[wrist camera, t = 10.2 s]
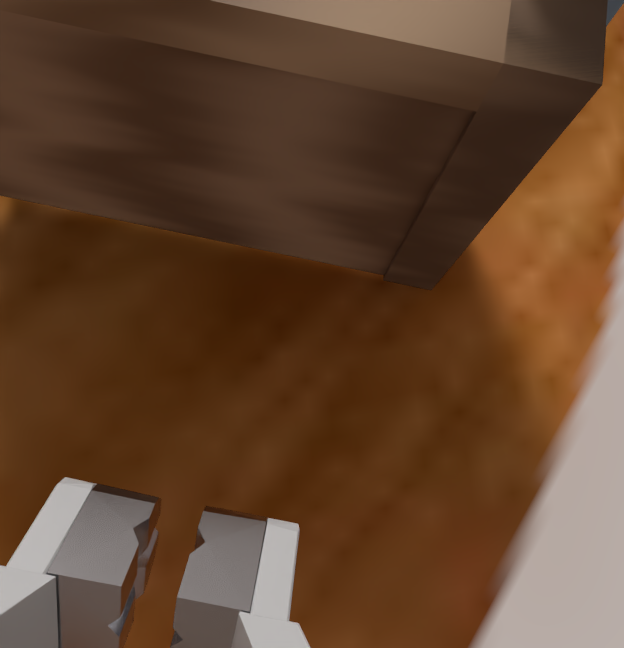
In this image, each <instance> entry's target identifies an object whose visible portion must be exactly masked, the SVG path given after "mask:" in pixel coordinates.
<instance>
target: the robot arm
mask: <svg viewBox="0 0 624 648" xmlns="http://www.w3.org/2000/svg"><path fill="white" fill-rule="evenodd" d="M160 511H161V498H159V497H154V496H150V495H145V494H141V493H137V492H132V491H128V490H123V489H119V488H115V487H110V486H106V485H101V484H96V483H91V482H86V481H82V480H77V479H72V478H68V477H65V478H63V479H62V480H61V481H60V482H59V483H58V484H57V485H56V486H55V488H54V490H53V491H52V493H51V494H50V496H49V498H48V499H47V501H46V502H45V504H44V506H43V507H42V509H41V510H40V512H39V514H38V515H37V517H36V519H35V520H34V522H33V523H32V525H31V527H30V528H29V530H28V531H27V533H26V535H25V536H24V538H23V539H22V541H21V543H20V544H19V546H18V548H17V549H16V551H15V552H14V554H13V556H12V557H11V559H10V560H9V562H8V564H7V565H6V566H1V565H0V648H124V645H125V642H126V640H127V637H128V634H129V632H130V629H131V626H132V623H133V621H134V609H135V599H137V598H138V597H139V596H141V595H142V594H143V593H144V590H145V587H146V585H147V582H148V579H149V576H150V572H151V569H152V565H153V562H154V558H155V553H156V548H157V542H158V531H157V530H156V529H155V526H156V524H157V521H158V518H159V516H160ZM299 531H300V529H299V525H298V524H297V523H292V522H287V521H282V520H277V519H272V518H268V519H267V517H264V516H259V515H253V514H248V513H242V512H237V511H232V510H226V509H221V508H215V507H210V506H206V507H205V509H204V511H203V514H202V517H201V520H200V523H199V526H198V531H197V538H196V544H195V550H194V551H193V552H192V553H191V554H190V555H189V559H188V562H187V565H186V569H185V572H184V576H183V579H182V582H181V586H180V589H179V592H178V596H177V601H176V608H175V615H174V622H173V628H174V629H175V632H174V636H173V639H172V643H171V646H170V648H311V647H310V645H309V643H308V641H307V639H306V637H305V635H304V633H303V631H302V629H301V627H300V625H299V623H296V622H292V621H289V617H290V609H291V600H292V591H293V583H294V574H295V565H296V557H297V548H298V539H299Z"/></svg>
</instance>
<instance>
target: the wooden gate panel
mask: <svg viewBox="0 0 624 648" xmlns="http://www.w3.org/2000/svg"><path fill="white" fill-rule="evenodd" d="M607 4H608V0H0V196H5V197H10V198H15V199H20V200H25V201H29V202H34V203H39V204H44V205H49V206H53V207H58V208H63V209H68V210H73V211H77V212H82V213H87V214H92V215H97V216H102V217H106V218H111V219H116V220H121V221H126V222H130V223H135V224H140V225H145V226H150V227H154V228H159V229H164V230H169V231H174V232H179V233H183V234H188V235H193V236H198V237H203V238H207V239H212V240H217V241H222V242H227V243H231V244H236V245H241V246H246V247H251V248H256V249H260V250H265V251H270V252H275V253H280V254H284V255H289V256H294V257H299V258H304V259H308V260H313V261H318V262H323V263H328V264H332V265H337V266H342V267H347V268H352V269H357V270H361V271H366V272H371V273H376V274H381V275H384V278H383V280H384V281H389V282H394V283H399V284H404V285H408V286H413V287H418V288H423V289H428V290H432V289H433V288H434V286H435V285H436V284H437V283H438V282H439V280H440V279H441V278H442V277H443V276H444V274H445V273H446V272H447V271H448V270H449V268H450V267H451V266H452V265H453V264H454V262H455V261H456V260H457V259H458V258H459V256H460V255H461V254H462V253H463V252H464V250H465V249H466V248H467V247H468V246H469V244H470V243H471V242H472V241H473V239H474V238H475V237H476V236H477V235H478V233H479V232H480V231H481V230H482V229H483V227H484V226H485V225H486V224H487V223H488V221H489V220H490V219H491V218H492V217H493V215H494V214H495V213H496V212H497V211H498V209H499V208H500V207H501V206H502V205H503V203H504V202H505V201H506V200H507V199H508V197H509V196H510V195H511V194H512V193H513V191H514V190H515V189H516V188H517V187H518V185H519V184H520V183H521V182H522V180H523V179H524V178H525V177H526V176H527V174H528V173H529V172H530V171H531V170H532V168H533V167H534V166H535V165H536V164H537V162H538V161H539V160H540V159H541V158H542V156H543V155H544V154H545V153H546V152H547V150H548V149H549V148H550V147H551V146H552V144H553V143H554V142H555V141H556V140H557V138H558V137H559V136H560V135H561V134H562V132H563V131H564V130H565V129H566V127H567V126H568V125H569V124H570V123H571V121H572V120H573V119H574V118H575V117H576V115H577V114H578V113H579V112H580V111H581V109H582V108H583V107H584V106H585V105H586V103H587V102H588V101H589V100H590V99H591V97H592V96H593V95H594V94H595V93H596V91H597V90H598V89H599V88H600V87H601V85H602V81H603V66H604V50H605V35H606V20H607Z"/></svg>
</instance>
